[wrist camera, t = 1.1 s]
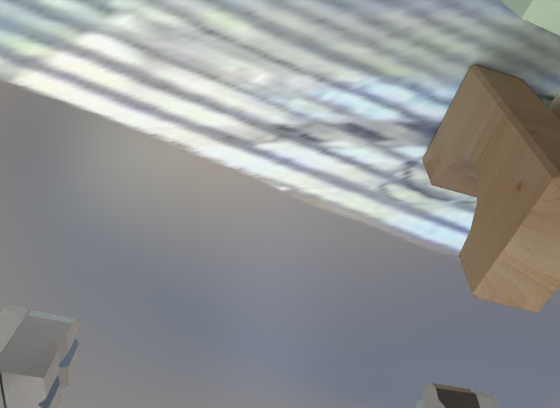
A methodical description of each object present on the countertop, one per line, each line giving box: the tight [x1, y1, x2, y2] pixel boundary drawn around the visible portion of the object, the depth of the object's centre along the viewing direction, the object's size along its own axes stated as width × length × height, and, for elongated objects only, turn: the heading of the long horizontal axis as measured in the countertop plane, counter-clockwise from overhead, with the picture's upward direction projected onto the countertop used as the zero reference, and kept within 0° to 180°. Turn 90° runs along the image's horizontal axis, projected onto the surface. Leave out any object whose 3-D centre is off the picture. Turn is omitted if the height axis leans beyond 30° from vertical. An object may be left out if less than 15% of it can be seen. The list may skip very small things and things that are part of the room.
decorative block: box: [423, 65, 560, 312], centre depth 43 cm, size 11×6×20 cm, turn 163°
